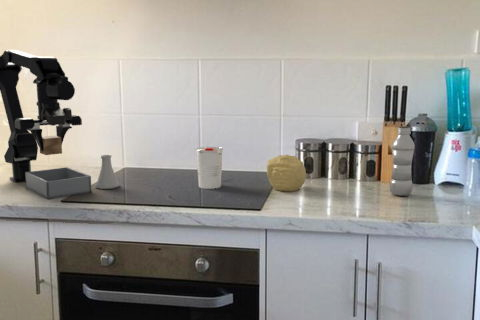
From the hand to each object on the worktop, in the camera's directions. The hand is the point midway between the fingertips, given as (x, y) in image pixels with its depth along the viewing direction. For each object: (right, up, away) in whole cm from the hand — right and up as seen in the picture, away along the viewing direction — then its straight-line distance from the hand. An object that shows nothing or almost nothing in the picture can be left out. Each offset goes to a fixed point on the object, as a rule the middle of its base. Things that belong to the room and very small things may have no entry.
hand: (50, 149), depth 163 cm
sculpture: (+73, -12, 0) cm, 74 cm away
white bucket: (+49, -12, +3) cm, 50 cm away
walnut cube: (0, -1, 0) cm, 1 cm away
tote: (+3, -12, -1) cm, 13 cm away
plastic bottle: (+105, -14, -8) cm, 106 cm away
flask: (+17, -12, +3) cm, 21 cm away
